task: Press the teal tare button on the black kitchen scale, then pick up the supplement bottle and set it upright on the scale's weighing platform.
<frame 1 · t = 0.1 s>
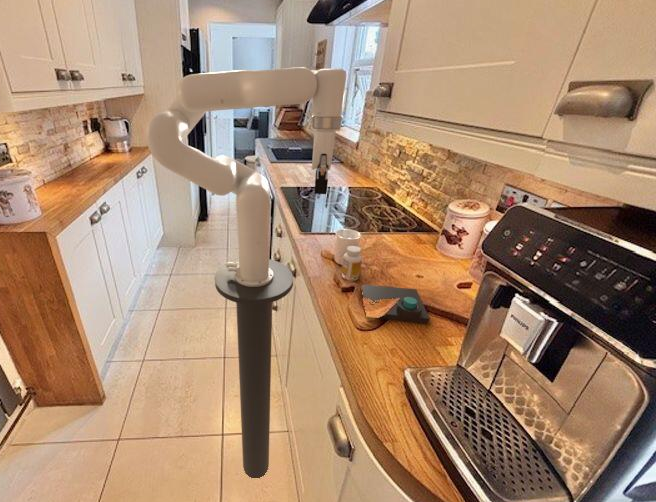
hand: (320, 188, 92), 27 cm above the worktop, tool pointing down, fingers open, 9 cm apart
supplement bottle: (349, 277, 101), on the worktop
white cup: (344, 261, 110), on the worktop
scale: (391, 305, 88), on the worktop
tare button: (410, 303, 82), point 4 cm above the worktop, slide at 0.1 cm
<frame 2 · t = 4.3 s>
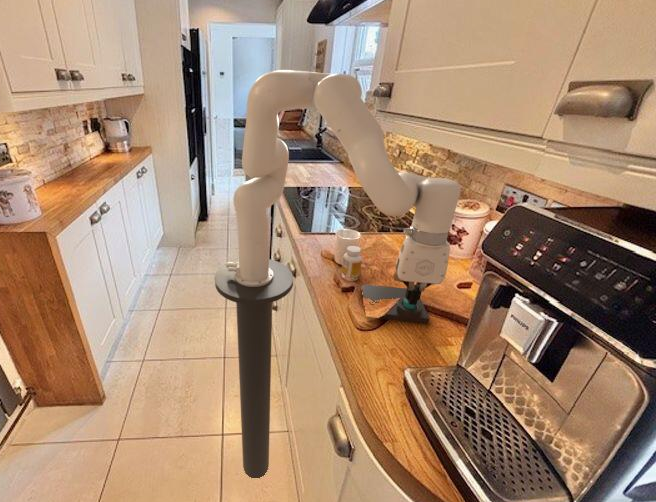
hand: (411, 301, 81), 5 cm above the worktop, tool pointing down, fingers closed
tare button: (409, 303, 82), point 4 cm above the worktop, slide at -0.1 cm, touching gripper
everything else where it was.
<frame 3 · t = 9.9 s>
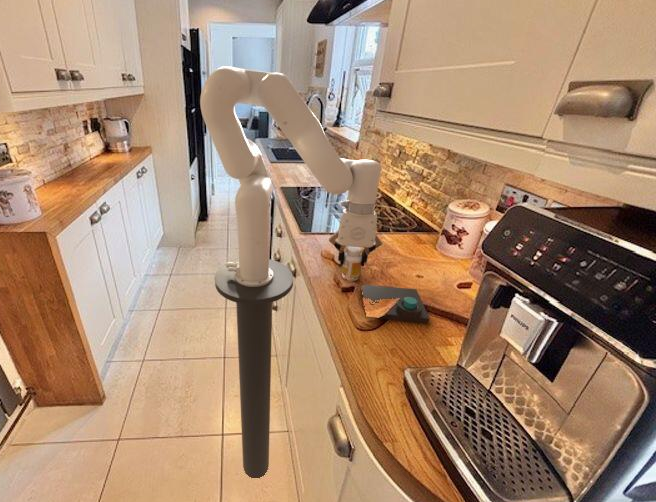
hand: (351, 262, 98), 5 cm above the worktop, tool pointing down, fingers closed on supplement bottle, 5 cm apart
supplement bottle: (349, 277, 101), on the worktop, touching gripper
tare button: (410, 303, 82), point 4 cm above the worktop, slide at 0.1 cm
everything else where it was.
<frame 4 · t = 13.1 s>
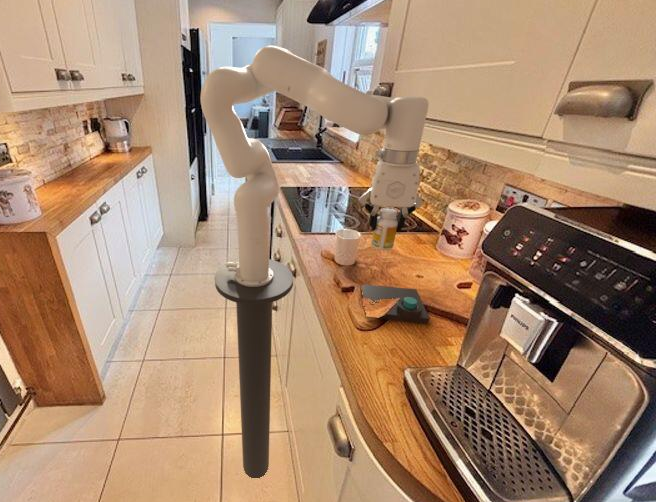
hand: (385, 228, 82), 20 cm above the worktop, tool pointing down, fingers closed on supplement bottle, 5 cm apart
supplement bottle: (381, 246, 85), point 15 cm above the worktop, touching gripper
everything else where it was.
when the fingers open (7 cm above the worktop, at t = 16.6 s): supplement bottle stays where it is, resting on scale.
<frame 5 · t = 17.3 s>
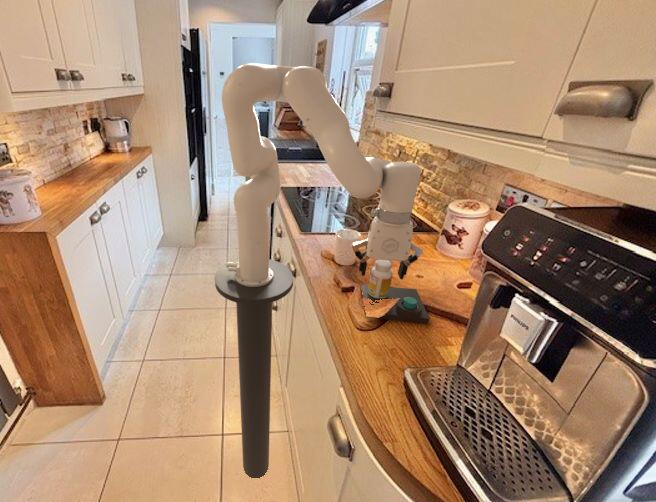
hand: (381, 274, 87), 8 cm above the worktop, tool pointing down, fingers open, 9 cm apart
supplement bottle: (377, 294, 90), point 2 cm above the worktop, touching scale
everything else where it was.
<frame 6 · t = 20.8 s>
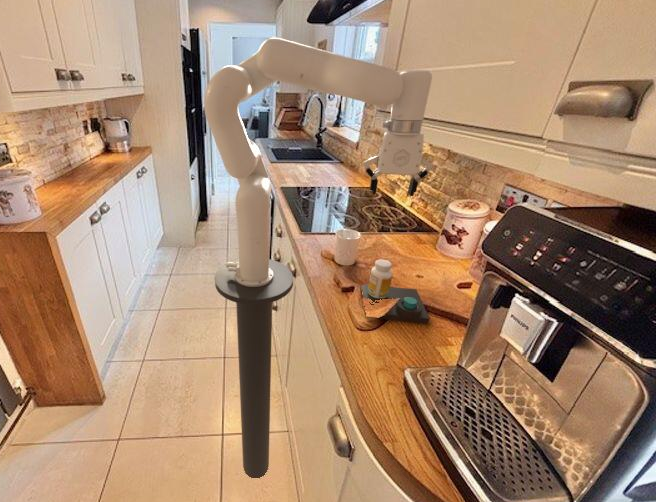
hand: (391, 193, 89), 26 cm above the worktop, tool pointing down, fingers open, 9 cm apart
nothing on the worktop moved.
at the end: tare button pushed in 1.1 cm at the most during the clip, back to where it started at the end; supplement bottle inside the target area on the scale (0.4 cm from its centre), point 1.5 cm above the scale's base; supplement bottle tilted 0° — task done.
